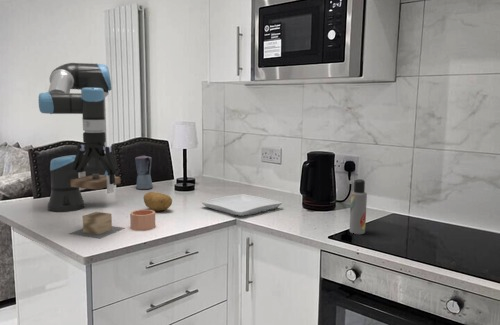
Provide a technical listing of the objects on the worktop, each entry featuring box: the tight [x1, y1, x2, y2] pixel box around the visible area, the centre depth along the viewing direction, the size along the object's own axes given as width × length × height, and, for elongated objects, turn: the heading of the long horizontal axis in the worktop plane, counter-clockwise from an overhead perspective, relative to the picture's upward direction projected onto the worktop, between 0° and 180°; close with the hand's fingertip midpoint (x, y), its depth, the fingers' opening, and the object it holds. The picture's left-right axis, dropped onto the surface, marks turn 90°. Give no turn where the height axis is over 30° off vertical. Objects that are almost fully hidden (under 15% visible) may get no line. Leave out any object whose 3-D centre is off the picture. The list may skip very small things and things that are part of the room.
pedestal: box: [82, 211, 113, 235], centre depth 155 cm, size 7×7×6 cm
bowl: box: [129, 209, 157, 231], centre depth 161 cm, size 9×9×6 cm
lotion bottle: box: [349, 178, 368, 235], centre depth 158 cm, size 6×6×20 cm
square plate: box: [200, 193, 283, 217], centre depth 194 cm, size 27×27×4 cm
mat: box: [68, 225, 126, 240], centre depth 156 cm, size 14×14×1 cm
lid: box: [71, 174, 121, 191], centre depth 153 cm, size 12×12×4 cm
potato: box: [143, 191, 173, 212], centre depth 187 cm, size 10×14×8 cm
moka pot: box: [134, 152, 153, 190], centre depth 235 cm, size 10×15×20 cm, turn 40°
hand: (96, 191), depth 154 cm, fingers closed on lid, 12 cm apart
